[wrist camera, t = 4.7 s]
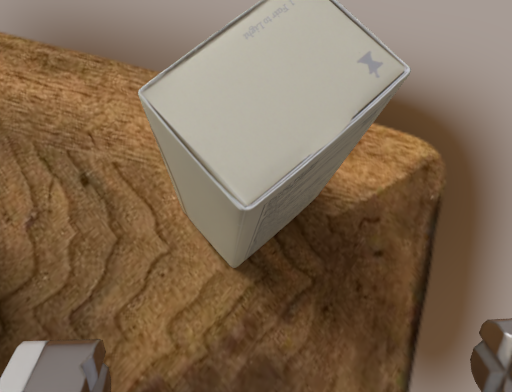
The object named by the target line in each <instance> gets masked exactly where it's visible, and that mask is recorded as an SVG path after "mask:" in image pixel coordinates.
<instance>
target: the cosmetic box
mask: <svg viewBox="0 0 512 392" xmlns="http://www.w3.org/2000/svg"><path fill="white" fill-rule="evenodd" d="M410 72H411V68H410V67H409V66H408V65H406V64H405V63H404V62H403V61H402V60H401V59H400V58H398V57H397V56H396V54H395V53H394V52H392V51H391V50H390V49H389V48H388V47H387V46H386V45H385V44H384V43H383V42H381V41H380V40H379V38H378V37H377V36H375V35H374V34H373V33H372V32H371V31H370V30H369V29H368V28H367V27H366V26H364V25H363V24H362V23H361V22H360V21H359V20H358V19H357V18H356V17H355V16H353V15H352V14H351V13H350V12H349V11H348V10H347V9H346V8H345V7H344V6H343V5H342V4H341V3H340V2H338V1H337V0H261V1H259V2H258V3H256V4H255V5H254V6H252V7H251V8H250V9H248V10H247V11H245V12H244V13H242V14H241V15H240V16H238V17H237V18H235V19H234V20H232V21H231V22H229V23H228V24H227V25H226V26H225V27H223V28H222V29H221V30H219V31H218V32H216V33H215V34H213V35H211V36H210V37H209V38H208V39H206V40H205V41H204V42H202V43H201V44H199V45H198V46H197V47H195V48H194V49H193V50H191V51H190V52H188V53H187V54H186V55H184V56H183V57H182V58H181V59H179V60H178V61H177V62H175V63H174V64H172V65H171V66H169V67H168V68H167V69H166V70H164V71H163V72H161V73H160V74H158V75H157V76H156V77H155V78H154V79H152V80H151V81H150V82H148V83H147V84H146V85H144V86H143V87H142V88H141V89H140V90H139V92H138V95H139V98H140V100H141V103H142V105H143V108H144V111H145V113H146V116H147V118H148V121H149V123H150V126H151V129H152V131H153V134H154V137H155V139H156V142H157V144H158V147H159V150H160V152H161V155H162V158H163V160H164V163H165V165H166V168H167V171H168V173H169V176H170V178H171V181H172V184H173V186H174V189H175V192H176V194H177V197H178V200H179V203H180V205H181V208H182V210H183V212H184V213H185V214H186V215H187V216H188V218H189V219H190V220H191V221H192V222H193V224H194V225H195V226H196V227H197V228H198V230H199V231H200V232H201V233H202V234H203V235H204V237H205V238H206V239H207V240H208V241H209V242H210V244H211V245H212V246H213V247H214V248H215V249H216V251H217V252H218V253H219V254H220V255H221V256H222V257H223V258H224V259H225V261H226V262H227V263H228V264H229V265H230V266H231V267H233V268H236V267H238V266H239V265H240V264H241V263H242V262H244V261H245V260H246V259H247V258H249V257H250V256H251V255H252V254H253V253H254V252H256V251H257V250H258V249H259V248H260V247H262V246H263V245H264V244H265V243H266V242H267V241H268V240H270V239H271V238H272V237H273V236H274V235H275V234H277V233H278V232H279V231H280V230H281V229H282V228H283V227H284V226H286V225H287V224H288V223H289V222H290V221H291V220H292V219H293V218H294V217H296V216H297V215H298V214H299V213H300V212H301V211H302V210H303V209H304V208H305V207H306V206H308V205H309V204H310V203H311V202H312V201H313V200H314V199H315V198H316V197H317V196H318V195H319V193H320V192H321V190H322V189H323V188H324V186H325V185H326V184H327V183H328V181H329V180H330V179H331V177H332V176H333V175H334V173H335V172H336V171H337V169H338V168H339V167H340V166H341V164H342V163H343V161H344V160H345V159H346V157H347V156H348V155H349V153H350V152H351V151H352V150H353V148H354V147H355V146H356V144H357V143H358V142H359V140H360V139H361V138H362V136H363V135H364V134H365V132H366V131H367V130H368V128H369V127H370V126H371V125H372V123H373V122H374V121H375V119H376V118H377V116H378V115H379V114H380V112H381V111H382V110H383V109H384V107H385V106H386V105H387V103H388V102H389V101H390V99H391V98H392V97H393V96H394V94H395V93H396V91H397V90H398V89H399V87H400V86H401V85H402V83H403V82H404V81H405V79H406V78H407V77H408V76H409V74H410Z"/></svg>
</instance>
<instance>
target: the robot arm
mask: <svg viewBox="0 0 512 392" xmlns="http://www.w3.org/2000/svg"><path fill="white" fill-rule="evenodd" d="M479 334H480V336H481V338H482V339H483V340H482V341H481V342H480V343H479V344H478V345H477V346H475V347H474V349H473V352H472V355H471V359H470V361H471V370H472V374H473V377H474V379H475V382H476V384H477V385H478V387H479V388H480V390H481V392H512V318H511V319H495V320H487V321H486V322H485V323H483V324H482V326H481V329H480V332H479ZM105 353H106V351H105V347H104V343H103V340H101V339H82V340H50V341H24V342H22V343H21V344H20V345H19V346H18V347H17V348H16V350H15V352H14V354H13V355H12V357H11V359H10V361H9V363H8V365H7V367H6V368H5V370H4V372H3V374H2V376H1V378H0V392H111V376H110V371H109V367H107V366H106V365H105V364H104V363H103V361H104V357H105Z"/></svg>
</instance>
